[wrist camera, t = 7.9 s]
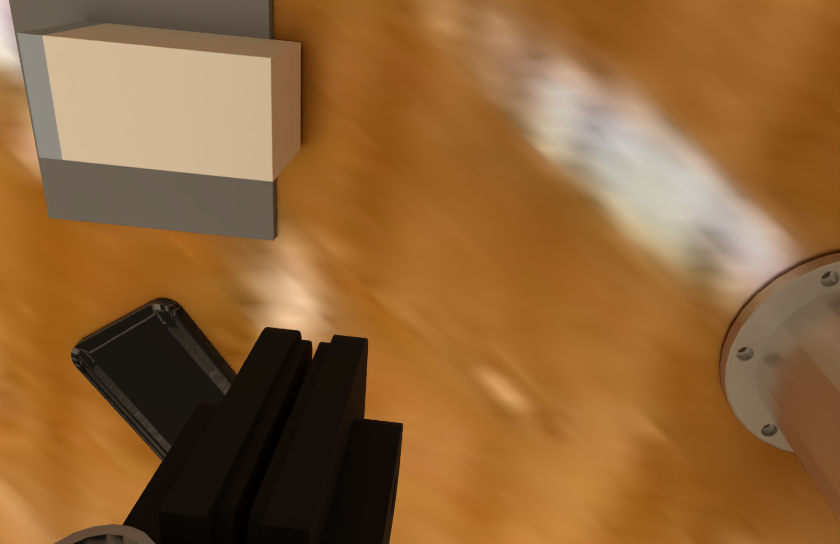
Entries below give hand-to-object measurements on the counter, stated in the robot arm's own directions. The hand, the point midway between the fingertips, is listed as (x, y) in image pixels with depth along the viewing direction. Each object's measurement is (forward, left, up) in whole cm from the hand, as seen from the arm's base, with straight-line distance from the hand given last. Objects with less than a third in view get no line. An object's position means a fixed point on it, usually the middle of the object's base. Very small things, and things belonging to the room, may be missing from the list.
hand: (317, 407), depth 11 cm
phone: (+12, +20, -23) cm, 33 cm away
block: (+6, 0, -20) cm, 20 cm away
